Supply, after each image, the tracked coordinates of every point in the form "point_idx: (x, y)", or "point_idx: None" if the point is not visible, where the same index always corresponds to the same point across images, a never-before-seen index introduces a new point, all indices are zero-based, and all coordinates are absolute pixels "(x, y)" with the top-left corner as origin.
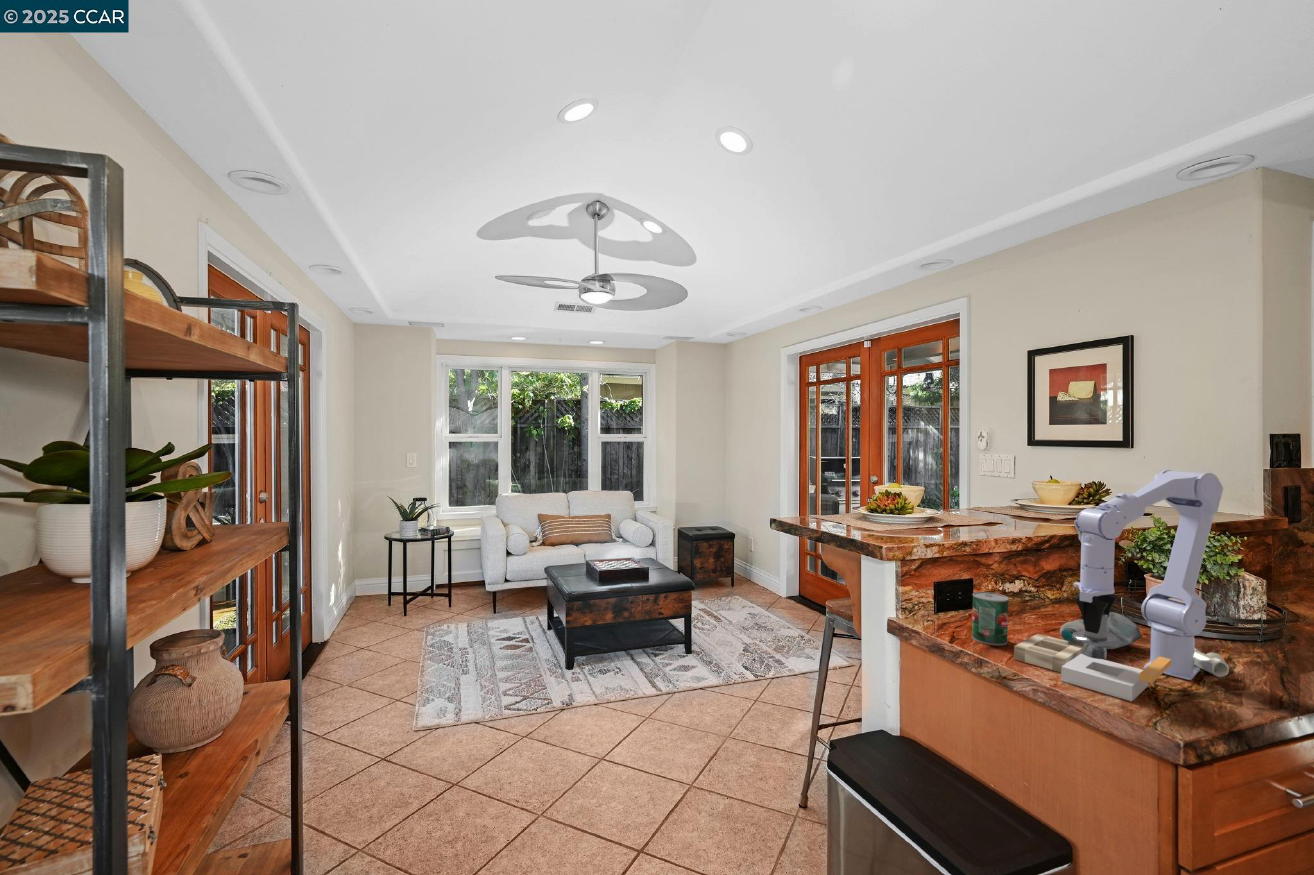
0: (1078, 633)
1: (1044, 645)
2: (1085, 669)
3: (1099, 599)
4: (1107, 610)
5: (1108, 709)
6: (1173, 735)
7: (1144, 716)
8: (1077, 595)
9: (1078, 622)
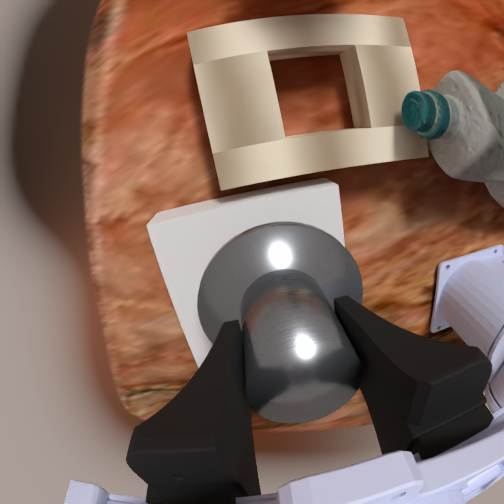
0: (283, 242)
1: (350, 58)
2: (196, 269)
3: (394, 429)
4: (370, 408)
5: (116, 340)
6: (135, 409)
7: (155, 376)
8: (207, 450)
9: (486, 131)
